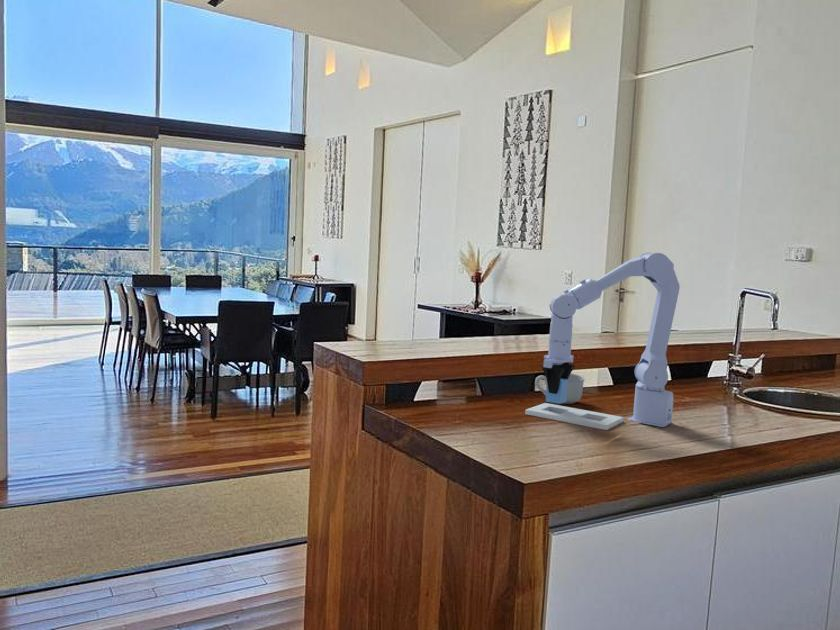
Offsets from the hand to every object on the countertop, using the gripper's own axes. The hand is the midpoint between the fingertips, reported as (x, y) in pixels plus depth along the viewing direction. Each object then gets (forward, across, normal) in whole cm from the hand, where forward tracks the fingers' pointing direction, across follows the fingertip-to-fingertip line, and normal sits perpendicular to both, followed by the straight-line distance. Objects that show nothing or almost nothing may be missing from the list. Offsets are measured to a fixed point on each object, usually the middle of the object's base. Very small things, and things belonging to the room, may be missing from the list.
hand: (556, 392), depth 187 cm
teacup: (+7, -17, -7) cm, 19 cm away
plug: (+2, 0, 0) cm, 2 cm away
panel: (+6, 0, +5) cm, 8 cm away
